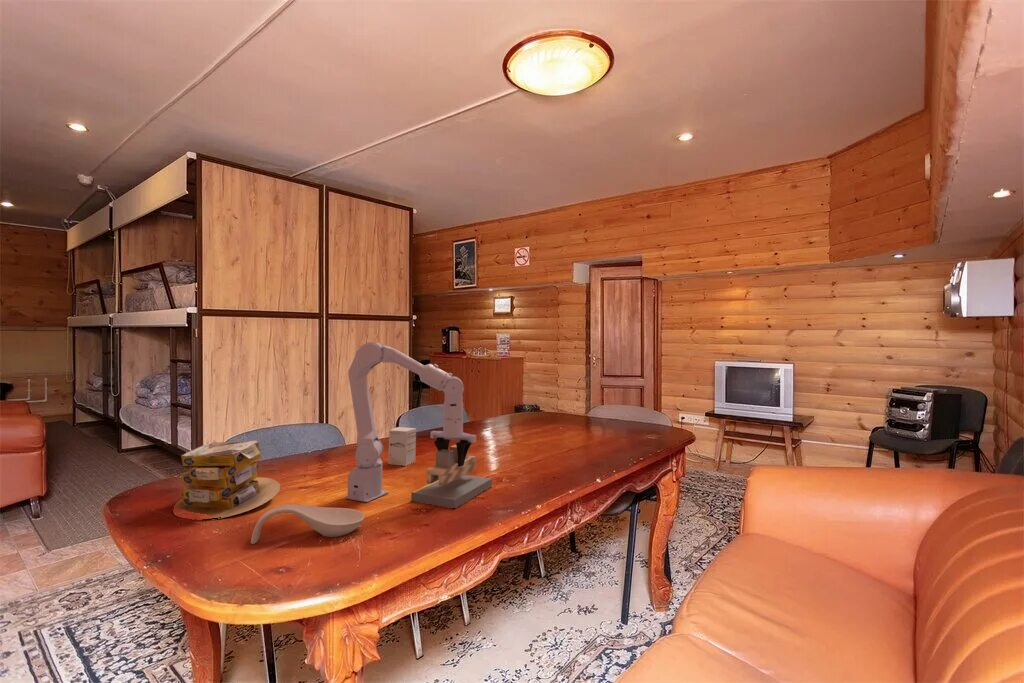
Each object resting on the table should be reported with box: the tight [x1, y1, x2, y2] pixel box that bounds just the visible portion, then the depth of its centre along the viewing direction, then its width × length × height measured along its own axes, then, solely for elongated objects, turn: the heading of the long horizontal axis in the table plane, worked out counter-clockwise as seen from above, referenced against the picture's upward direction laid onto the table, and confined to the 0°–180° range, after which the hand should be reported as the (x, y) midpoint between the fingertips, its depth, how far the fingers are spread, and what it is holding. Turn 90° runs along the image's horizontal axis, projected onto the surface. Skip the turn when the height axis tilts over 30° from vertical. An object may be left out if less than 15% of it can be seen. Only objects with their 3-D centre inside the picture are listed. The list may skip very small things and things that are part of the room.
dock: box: [410, 474, 493, 509], centre depth 139 cm, size 22×14×3 cm, turn 156°
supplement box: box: [388, 426, 417, 467], centre depth 174 cm, size 7×7×13 cm
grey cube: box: [435, 449, 455, 468], centre depth 136 cm, size 4×4×4 cm
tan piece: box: [426, 455, 477, 486], centre depth 140 cm, size 19×5×4 cm, turn 156°
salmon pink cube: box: [449, 444, 469, 461], centre depth 143 cm, size 4×4×4 cm
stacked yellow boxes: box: [173, 440, 281, 519], centre depth 129 cm, size 25×25×17 cm
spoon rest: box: [250, 503, 365, 545], centre depth 109 cm, size 24×12×7 cm, turn 111°
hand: (452, 464), depth 140 cm, fingers closed on tan piece, 5 cm apart
